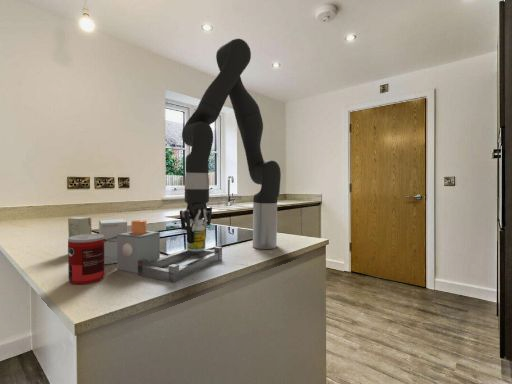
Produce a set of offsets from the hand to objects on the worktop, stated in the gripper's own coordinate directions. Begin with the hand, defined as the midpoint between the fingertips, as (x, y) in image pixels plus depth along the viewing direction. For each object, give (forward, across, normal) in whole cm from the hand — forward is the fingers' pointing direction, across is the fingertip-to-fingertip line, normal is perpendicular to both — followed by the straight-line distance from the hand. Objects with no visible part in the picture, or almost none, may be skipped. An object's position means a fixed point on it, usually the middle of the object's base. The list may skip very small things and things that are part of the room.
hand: (196, 240), depth 88 cm
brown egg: (-1, -13, +11) cm, 17 cm away
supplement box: (+7, -12, +23) cm, 27 cm away
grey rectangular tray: (+6, -6, 0) cm, 9 cm away
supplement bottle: (+3, 0, 0) cm, 3 cm away
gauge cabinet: (+6, -13, +11) cm, 18 cm away
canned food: (+7, -26, +15) cm, 31 cm away
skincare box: (+7, -11, +40) cm, 42 cm away
